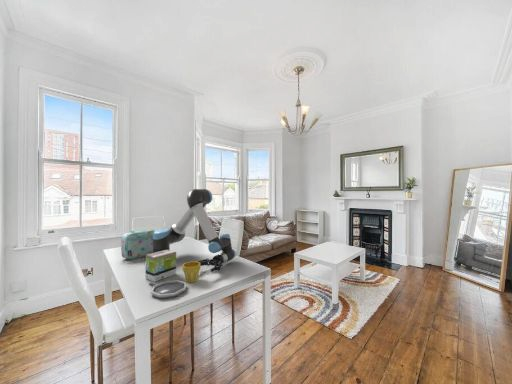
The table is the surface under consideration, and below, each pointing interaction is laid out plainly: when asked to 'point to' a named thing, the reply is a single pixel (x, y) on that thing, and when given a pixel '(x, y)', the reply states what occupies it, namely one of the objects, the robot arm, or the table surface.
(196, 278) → the plant pot
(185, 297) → the table surface
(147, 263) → the tea box
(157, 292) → the octagonal handled pan
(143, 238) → the lunch box
